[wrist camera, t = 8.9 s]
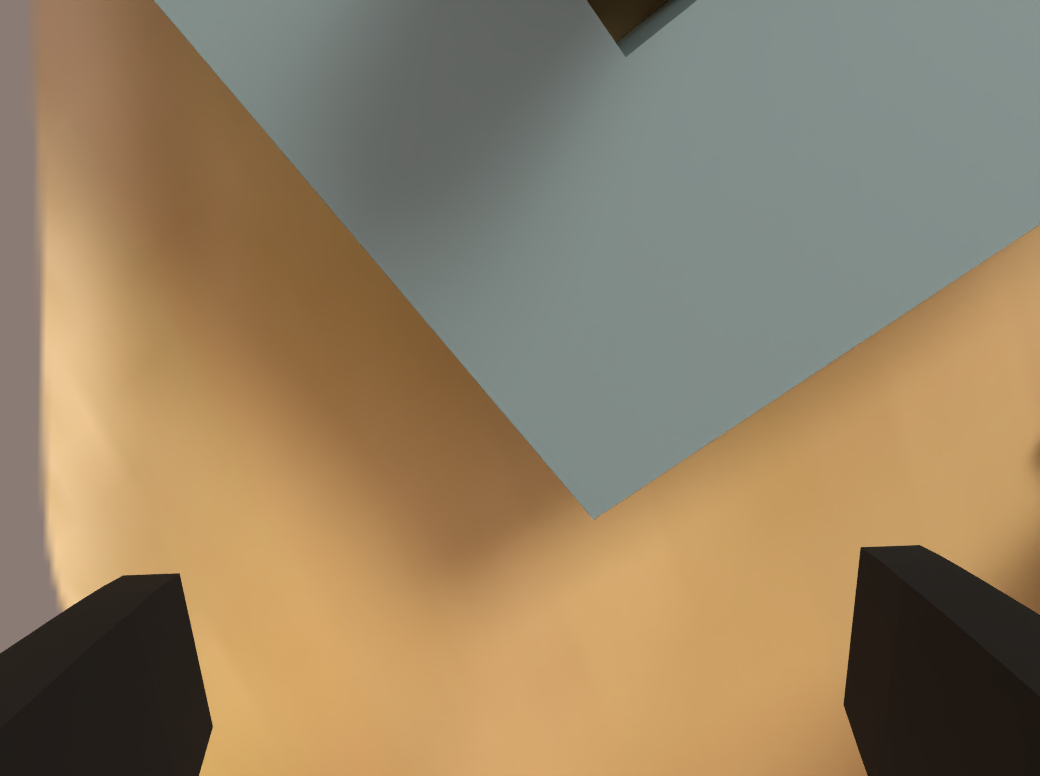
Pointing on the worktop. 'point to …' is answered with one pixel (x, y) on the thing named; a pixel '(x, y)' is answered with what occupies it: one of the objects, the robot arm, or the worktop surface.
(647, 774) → the worktop surface
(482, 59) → the hole block
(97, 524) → the worktop surface
